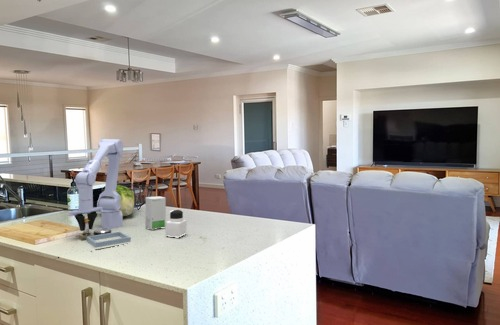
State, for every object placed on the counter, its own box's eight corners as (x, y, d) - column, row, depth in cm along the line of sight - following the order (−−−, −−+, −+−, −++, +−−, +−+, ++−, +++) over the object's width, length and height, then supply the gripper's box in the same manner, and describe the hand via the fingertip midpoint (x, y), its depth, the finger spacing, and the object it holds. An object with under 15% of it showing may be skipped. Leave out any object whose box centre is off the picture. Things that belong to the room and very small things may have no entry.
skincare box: (150, 230, 188) (150, 199, 187) (144, 228, 193) (144, 197, 191) (166, 228, 193) (166, 197, 192) (159, 225, 198) (159, 195, 197)
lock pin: (89, 235, 173) (88, 217, 173) (91, 237, 171) (91, 219, 170) (81, 236, 171) (80, 218, 170) (83, 238, 168) (83, 220, 168)
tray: (120, 238, 174) (120, 231, 174) (130, 244, 165) (130, 237, 165) (86, 243, 165) (86, 236, 165) (95, 250, 156) (95, 243, 156)
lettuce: (111, 207, 201) (138, 185, 211) (87, 194, 214) (113, 174, 224) (125, 230, 212) (150, 208, 222) (102, 217, 225) (126, 196, 235)
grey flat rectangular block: (106, 233, 182) (106, 226, 181) (114, 238, 174) (114, 231, 174) (74, 238, 172) (74, 231, 172) (81, 243, 165) (81, 236, 165)
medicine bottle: (186, 235, 181) (186, 209, 180) (179, 238, 175) (179, 212, 174) (173, 233, 184) (173, 208, 183) (165, 237, 177) (165, 211, 176)
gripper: (96, 196, 177) (97, 225, 179) (64, 200, 167) (65, 231, 168) (104, 198, 173) (105, 228, 174) (72, 202, 162) (73, 234, 163)
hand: (86, 229), depth 171 cm, fingers closed on lock pin, 3 cm apart
